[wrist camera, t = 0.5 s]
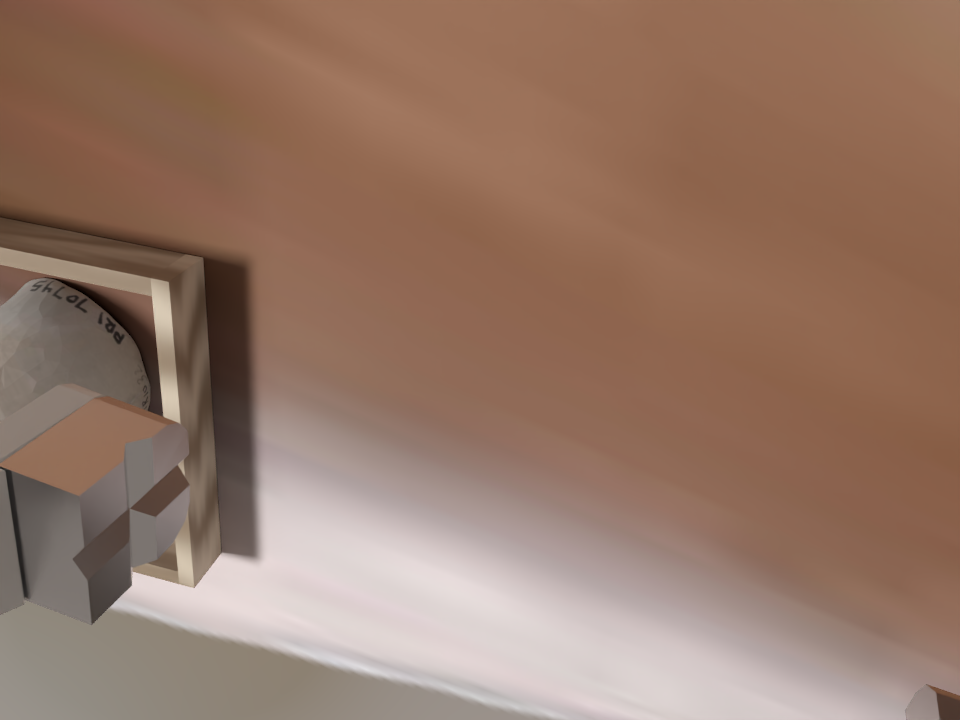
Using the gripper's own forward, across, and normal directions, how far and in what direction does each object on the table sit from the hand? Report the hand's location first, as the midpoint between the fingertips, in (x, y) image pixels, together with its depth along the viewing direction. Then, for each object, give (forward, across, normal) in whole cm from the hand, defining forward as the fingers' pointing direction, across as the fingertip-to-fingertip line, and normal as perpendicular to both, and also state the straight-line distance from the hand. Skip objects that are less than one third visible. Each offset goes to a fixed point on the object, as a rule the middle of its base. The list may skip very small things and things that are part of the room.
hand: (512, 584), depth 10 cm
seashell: (+37, +41, +31) cm, 63 cm away
